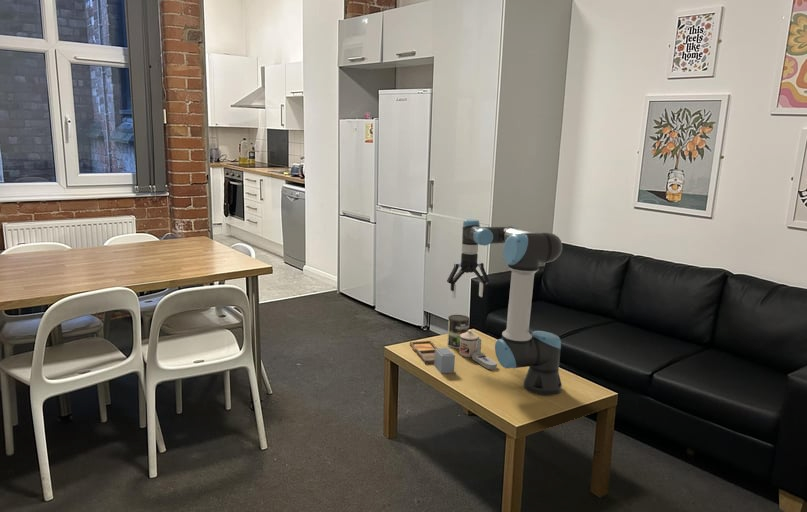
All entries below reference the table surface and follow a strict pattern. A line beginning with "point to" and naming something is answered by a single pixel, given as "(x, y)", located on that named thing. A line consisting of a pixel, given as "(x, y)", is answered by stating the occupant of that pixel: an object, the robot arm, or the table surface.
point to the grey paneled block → (444, 360)
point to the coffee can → (456, 329)
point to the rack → (424, 350)
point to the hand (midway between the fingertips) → (467, 297)
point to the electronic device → (483, 358)
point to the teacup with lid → (468, 343)
